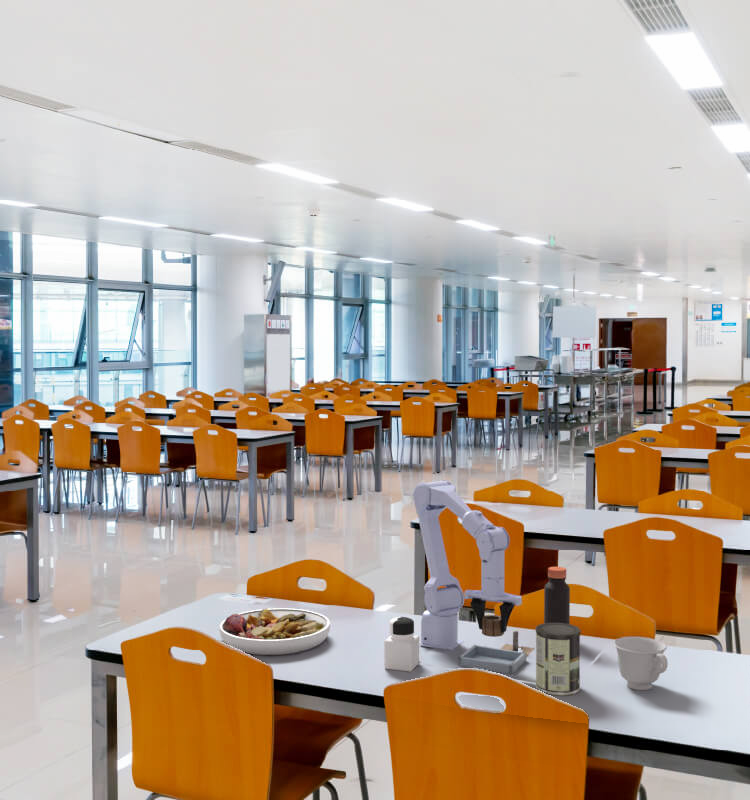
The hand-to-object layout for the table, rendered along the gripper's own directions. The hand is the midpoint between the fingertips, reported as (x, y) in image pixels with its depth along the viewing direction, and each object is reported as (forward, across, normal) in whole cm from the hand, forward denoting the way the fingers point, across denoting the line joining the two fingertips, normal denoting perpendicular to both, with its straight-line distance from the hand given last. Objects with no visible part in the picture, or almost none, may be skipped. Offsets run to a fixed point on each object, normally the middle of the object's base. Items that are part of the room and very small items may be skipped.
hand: (492, 629), depth 229 cm
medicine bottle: (+9, +20, +11) cm, 25 cm away
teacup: (+9, -37, -1) cm, 38 cm away
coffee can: (+9, -19, +8) cm, 23 cm away
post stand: (+9, -2, -12) cm, 15 cm away
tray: (+9, 0, 0) cm, 9 cm away
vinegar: (+9, -9, -26) cm, 29 cm away
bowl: (+9, +60, +8) cm, 61 cm away
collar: (+1, 0, 0) cm, 1 cm away
